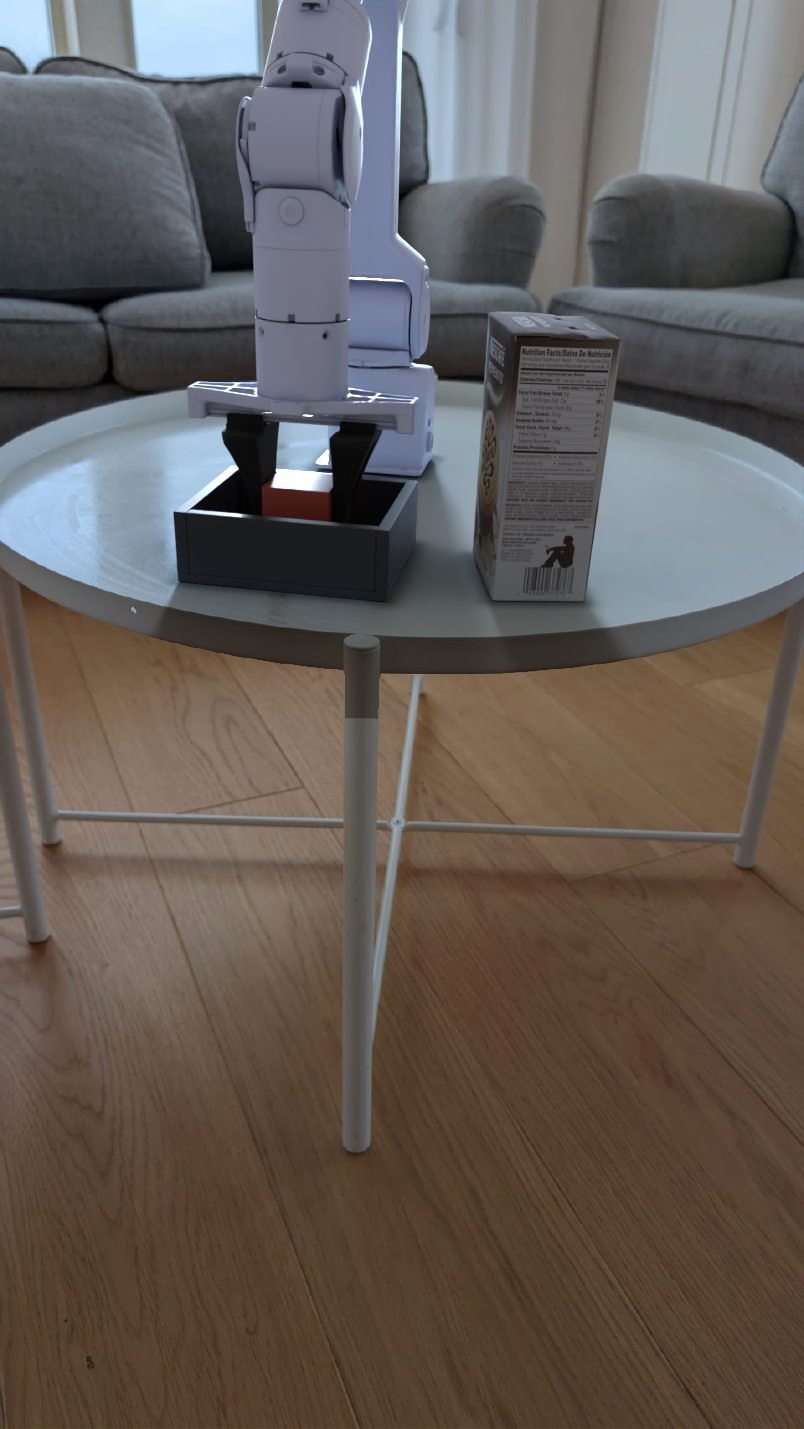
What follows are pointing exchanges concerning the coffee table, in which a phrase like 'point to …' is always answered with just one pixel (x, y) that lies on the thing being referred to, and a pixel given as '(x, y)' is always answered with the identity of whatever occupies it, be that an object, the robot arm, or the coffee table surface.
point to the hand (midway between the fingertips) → (303, 533)
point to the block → (298, 496)
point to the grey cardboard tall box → (542, 453)
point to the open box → (297, 541)
